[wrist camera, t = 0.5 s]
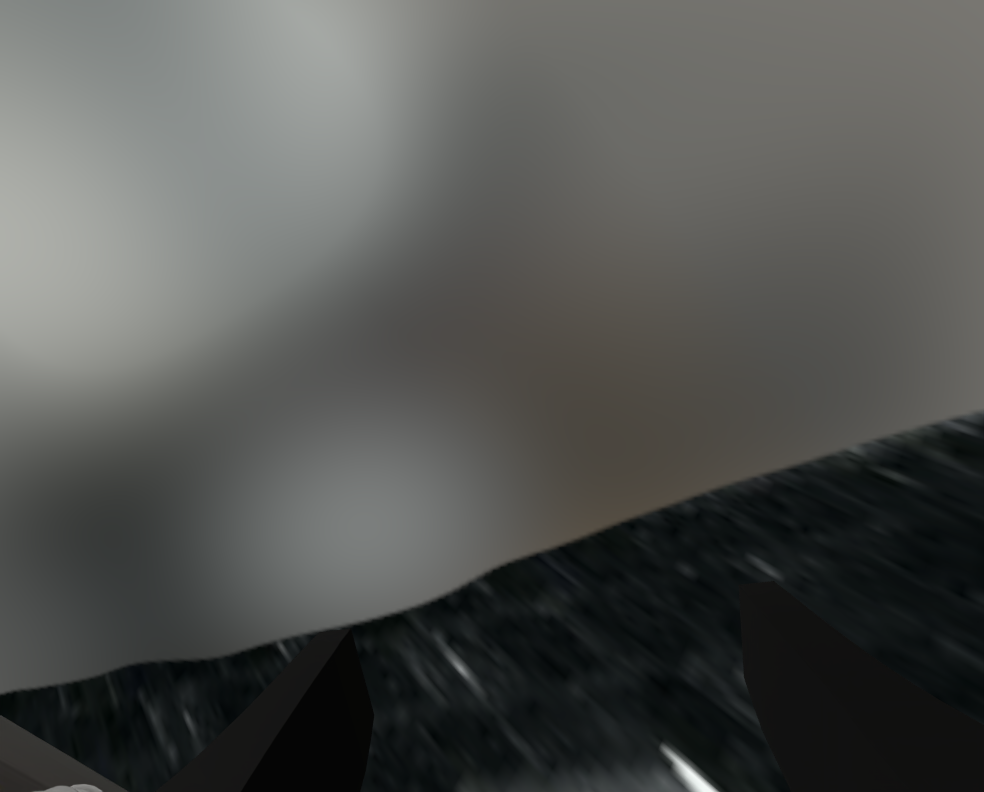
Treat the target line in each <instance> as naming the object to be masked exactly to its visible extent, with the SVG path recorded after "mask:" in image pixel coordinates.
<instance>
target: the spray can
mask: <svg viewBox="0 0 984 792" xmlns="http://www.w3.org/2000/svg"><path fill="white" fill-rule="evenodd" d="M80 784H87V785H92V786H95V787H97V788H98V789H100V790H102V791H103V792H129V791H127V790H125V789H124V788H122V787H120V786H118V785H117V784H115V783H113V782H112V781H110V780H108V779H107V778H105V777H103V776H102V775H100V774H98V773H97V772H95V771H93V770H92V769H90V768H88V767H87V766H85V765H83V764H81V763H80V762H78V761H76V760H75V759H73V758H71V757H70V756H68V755H66V754H65V753H63V752H61V751H60V750H58V749H56V748H55V747H53V746H51V745H50V744H48V743H46V742H45V741H43V740H41V739H39V738H38V737H36V736H34V735H33V734H31V733H29V732H28V731H26V730H24V729H23V728H21V727H19V726H18V725H16V724H14V723H13V722H11V721H9V720H8V719H6V718H4V717H3V716H1V715H0V792H33V791H45V790H47V789H50V788H53V787H56V786H68V787H71V786H73V785H80Z"/></svg>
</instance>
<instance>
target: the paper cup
mask: <svg viewBox="0 0 984 792" xmlns="http://www.w3.org/2000/svg"><path fill="white" fill-rule="evenodd" d="M33 792H103V791H102V790H100V789H98V788H97V787H95V786H92V785H87V784H80V785H73V786H71V787H68V786H56V787H53V788H50V789H47V790H45V791H33Z"/></svg>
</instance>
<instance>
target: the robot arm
mask: <svg viewBox="0 0 984 792" xmlns="http://www.w3.org/2000/svg"><path fill="white" fill-rule="evenodd" d="M739 596H740V614H741V631H742V649H743V666H744V679H745V682H746V685H747V688H748V691H749V694H750V697H751V700H752V702H753V705H754V708H755V711H756V714H757V717H758V719H759V722H760V725H761V728H762V731H763V733H764V735H765V737H766V740H767V742H768V744H769V746H770V748H771V750H772V752H773V754H774V756H775V758H776V761H777V763H778V765H779V767H780V769H781V771H782V773H783V775H784V777H785V779H786V781H787V783H788V785H789V787H790V789H791V792H984V725H983V724H981V723H979V722H977V721H976V720H974V719H972V718H970V717H968V716H967V715H965V714H963V713H961V712H960V711H958V710H956V709H954V708H953V707H951V706H949V705H947V704H945V703H944V702H942V701H940V700H938V699H937V698H935V697H934V696H932V695H930V694H929V693H927V692H925V691H924V690H922V689H920V688H919V687H917V686H916V685H914V684H913V683H911V682H910V681H908V680H907V679H905V678H904V677H902V676H900V675H899V674H897V673H896V672H894V671H893V670H891V669H890V668H888V667H887V666H885V665H884V664H882V663H881V662H879V661H878V660H876V659H875V658H874V657H872V656H871V655H869V654H868V653H866V652H865V651H864V650H862V649H861V648H860V647H858V646H857V645H856V644H854V643H853V642H851V641H850V640H849V639H847V638H846V637H845V636H843V635H842V634H841V633H839V632H838V631H837V630H835V629H834V628H833V627H831V626H830V625H829V624H828V623H826V622H825V621H824V620H822V619H821V618H820V617H819V616H817V615H816V614H815V613H813V612H812V611H811V610H810V609H808V608H807V607H806V606H805V605H803V604H802V603H801V602H800V601H798V600H797V599H796V598H795V597H793V596H792V595H791V594H790V593H788V592H787V591H786V590H784V589H783V588H782V587H781V586H779V585H778V584H777V583H775V582H774V581H771V582H762V583H753V584H744V585H739ZM373 720H374V713H373V709H372V705H371V701H370V698H369V694H368V690H367V687H366V683H365V679H364V676H363V672H362V668H361V664H360V661H359V657H358V653H357V650H356V646H355V642H354V638H353V635H352V631H351V629H343V630H334V631H326V632H320V633H319V634H318V635H317V636H316V637H314V638H313V639H312V640H311V641H310V642H309V644H308V645H307V646H306V647H305V648H304V649H303V650H302V651H301V652H300V653H299V654H298V655H297V656H296V657H295V658H294V659H293V660H292V662H291V663H290V664H289V665H288V666H287V667H286V668H285V669H284V670H283V671H282V672H281V673H280V674H279V676H278V677H277V678H276V679H275V680H274V681H273V682H272V683H271V684H270V685H269V686H268V687H267V688H266V689H265V690H264V691H263V692H262V693H261V694H260V695H259V696H258V697H257V699H256V700H255V701H254V702H253V703H252V704H251V705H250V706H249V707H248V708H247V709H246V710H245V711H244V712H243V713H242V714H241V715H240V716H239V717H238V718H237V719H236V720H235V721H234V722H233V723H231V724H230V725H229V726H228V727H227V728H226V729H225V730H224V731H223V732H222V733H221V734H220V735H219V736H218V737H217V738H216V739H215V740H214V741H213V742H212V743H211V744H210V745H209V746H208V747H207V748H206V749H205V750H203V751H202V752H201V753H200V754H199V755H198V756H197V757H196V758H195V759H194V760H192V761H191V762H190V763H189V764H188V765H187V766H186V767H184V768H183V769H182V770H181V771H180V772H179V773H177V774H176V775H175V776H174V777H173V778H171V779H170V780H169V781H168V782H167V783H165V784H164V785H163V786H162V787H161V788H159V789H158V790H157V791H156V792H360V790H361V786H362V782H363V778H364V775H365V771H366V766H367V760H368V754H369V748H370V741H371V734H372V727H373Z"/></svg>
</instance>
